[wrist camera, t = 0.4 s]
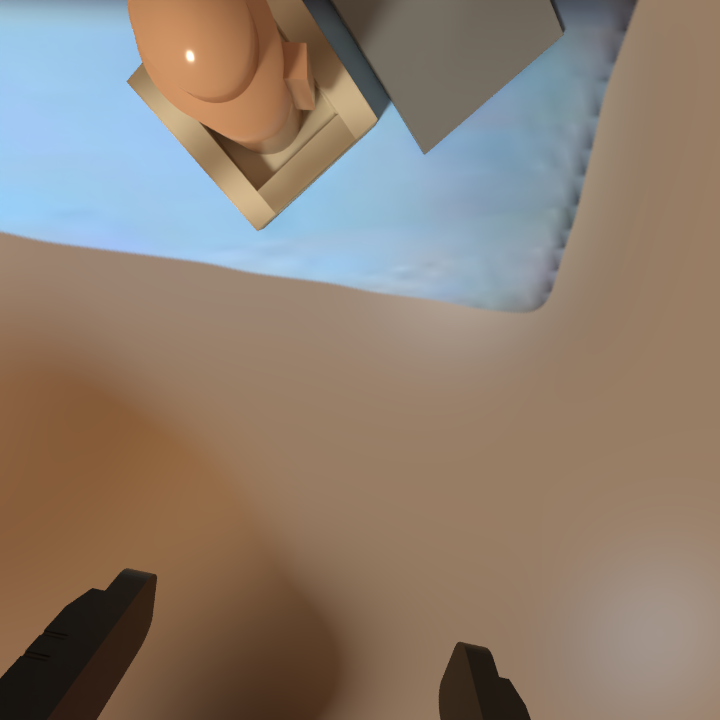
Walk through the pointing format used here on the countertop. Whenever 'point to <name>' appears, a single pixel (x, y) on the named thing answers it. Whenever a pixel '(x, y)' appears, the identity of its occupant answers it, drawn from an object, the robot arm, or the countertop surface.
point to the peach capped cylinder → (226, 67)
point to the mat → (447, 53)
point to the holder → (308, 151)
